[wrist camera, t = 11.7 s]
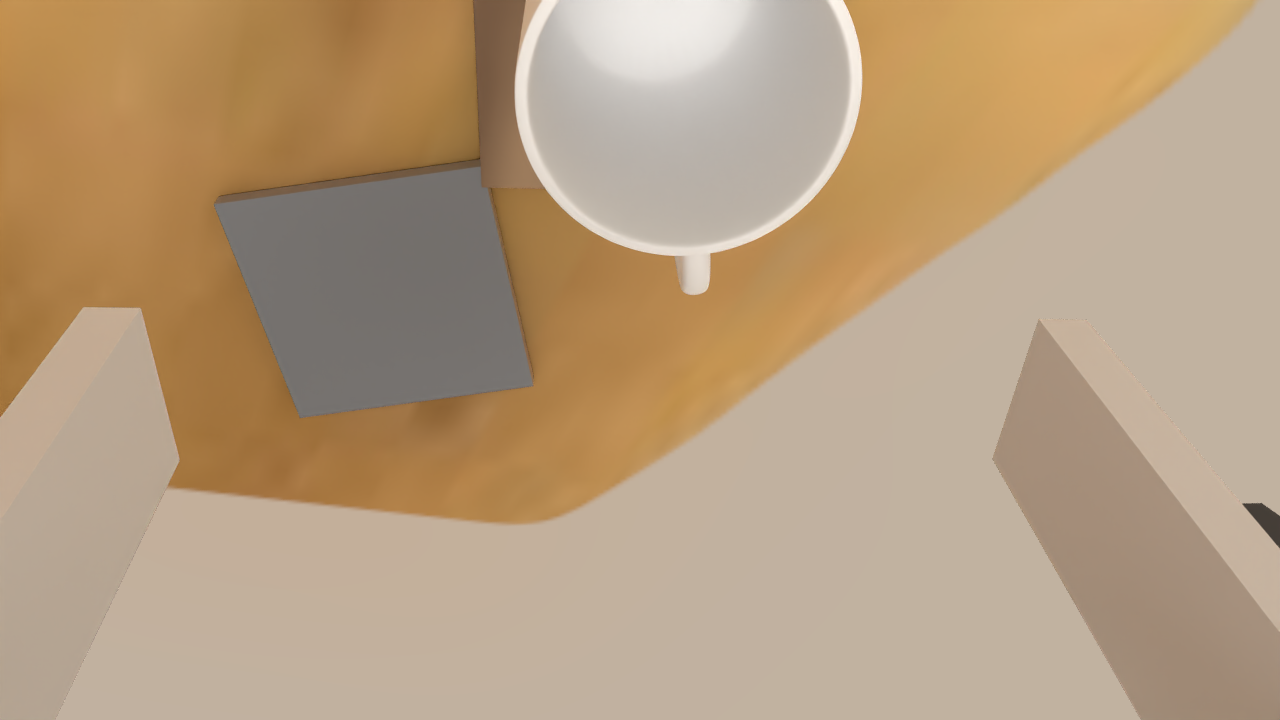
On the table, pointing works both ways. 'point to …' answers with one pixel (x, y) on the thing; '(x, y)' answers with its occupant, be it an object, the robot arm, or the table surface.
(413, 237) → the slate coaster
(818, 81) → the mug
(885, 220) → the table surface
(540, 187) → the walnut coaster
